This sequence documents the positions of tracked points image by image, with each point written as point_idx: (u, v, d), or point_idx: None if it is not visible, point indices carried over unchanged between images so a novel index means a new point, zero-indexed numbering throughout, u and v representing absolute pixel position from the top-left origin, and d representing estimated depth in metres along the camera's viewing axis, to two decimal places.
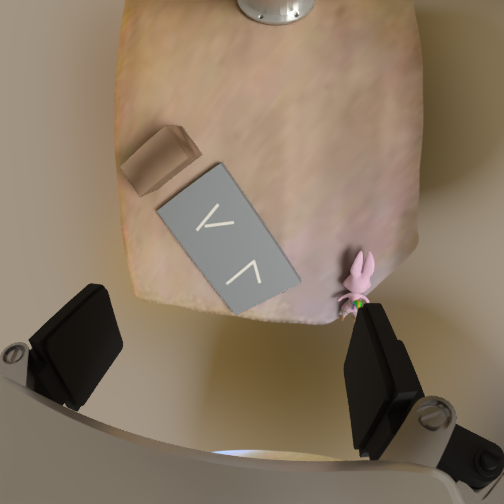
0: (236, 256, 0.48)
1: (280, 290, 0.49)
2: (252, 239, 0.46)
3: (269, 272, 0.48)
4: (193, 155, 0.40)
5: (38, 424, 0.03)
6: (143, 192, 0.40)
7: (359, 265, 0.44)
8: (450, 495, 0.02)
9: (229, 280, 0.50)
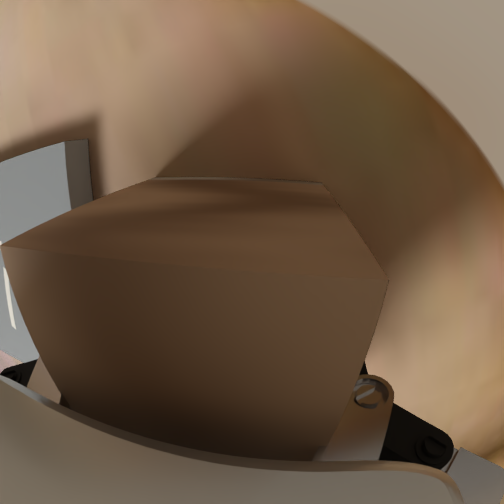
0: None
1: None
2: None
3: None
4: None
5: (38, 424, 0.03)
6: (20, 296, 0.04)
7: None
8: (450, 495, 0.02)
9: None
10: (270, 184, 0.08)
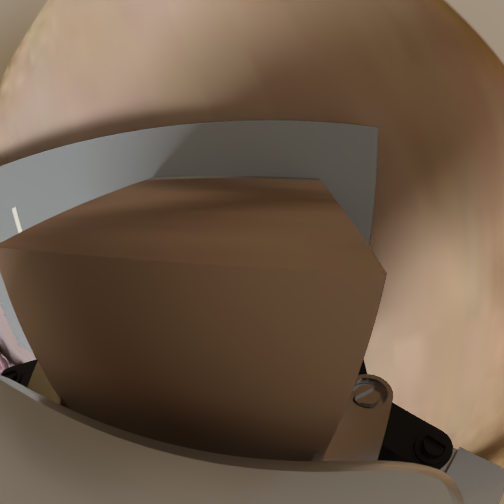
0: None
1: (4, 308, 0.15)
2: None
3: None
4: None
5: (38, 424, 0.03)
6: (14, 298, 0.04)
7: None
8: (450, 495, 0.02)
9: (18, 222, 0.11)
10: (267, 181, 0.08)
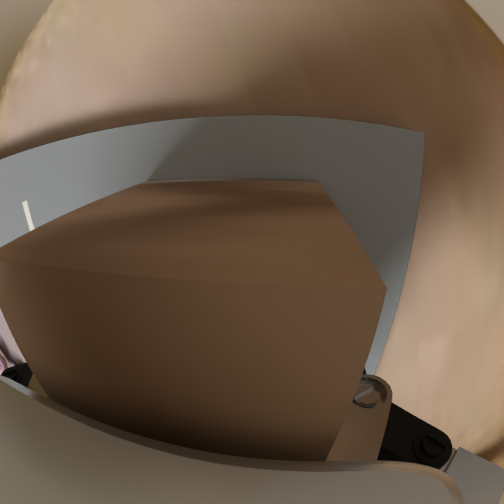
0: None
1: None
2: None
3: None
4: None
5: (38, 424, 0.03)
6: (5, 309, 0.04)
7: None
8: (450, 495, 0.02)
9: (30, 217, 0.11)
10: (263, 184, 0.08)
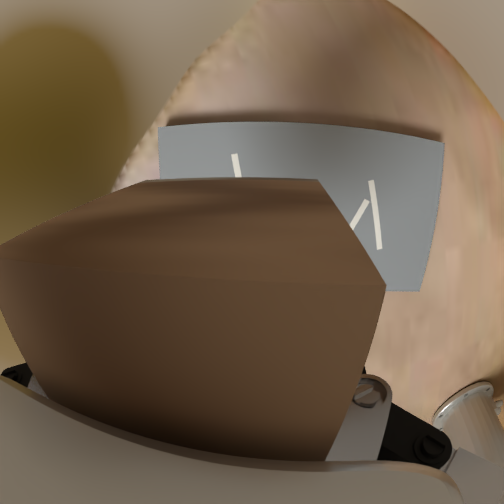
0: None
1: None
2: None
3: None
4: None
5: (38, 424, 0.03)
6: (4, 307, 0.04)
7: None
8: (450, 495, 0.02)
9: (238, 165, 0.21)
10: (263, 182, 0.08)
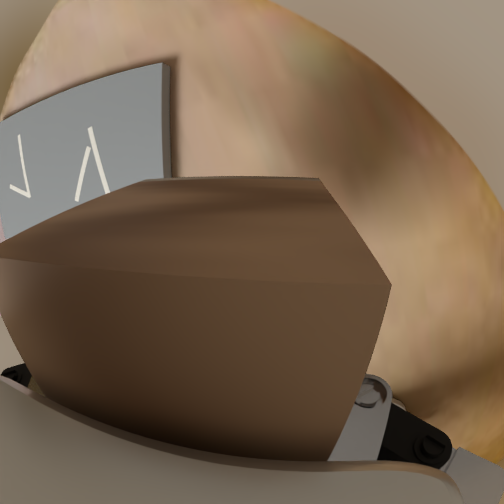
0: (39, 173, 0.20)
1: (1, 207, 0.23)
2: (50, 212, 0.22)
3: (16, 207, 0.22)
4: None
5: (38, 424, 0.03)
6: (2, 307, 0.03)
7: None
8: (450, 495, 0.02)
9: (20, 142, 0.19)
10: (263, 181, 0.08)
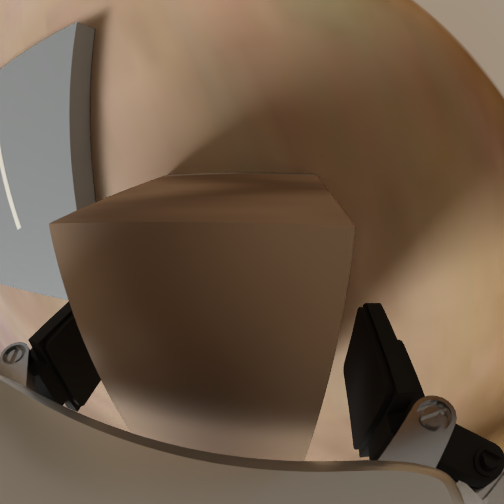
0: None
1: None
2: None
3: None
4: None
5: (38, 424, 0.03)
6: (64, 266, 0.05)
7: None
8: (450, 495, 0.02)
9: None
10: (270, 176, 0.10)
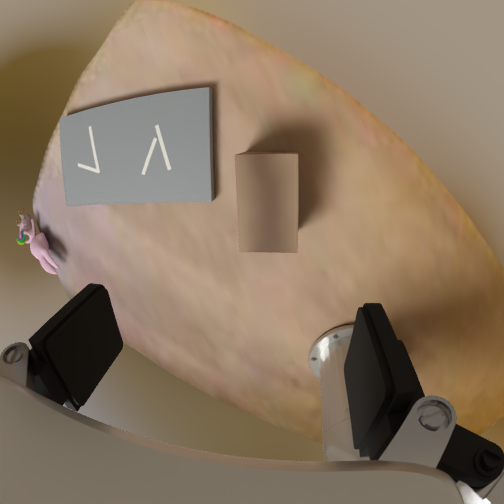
0: (109, 154, 0.33)
1: (65, 181, 0.35)
2: (118, 183, 0.34)
3: (83, 181, 0.34)
4: None
5: (38, 424, 0.03)
6: (237, 165, 0.26)
7: (48, 261, 0.39)
8: (450, 495, 0.02)
9: (91, 132, 0.32)
10: (281, 151, 0.31)
